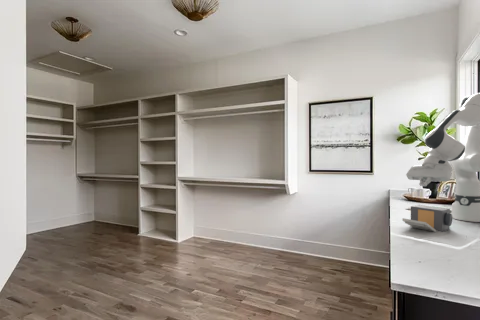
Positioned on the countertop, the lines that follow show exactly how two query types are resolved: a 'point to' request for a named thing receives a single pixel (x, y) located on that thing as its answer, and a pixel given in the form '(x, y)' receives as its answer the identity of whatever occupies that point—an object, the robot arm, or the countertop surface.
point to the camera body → (432, 216)
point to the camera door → (419, 225)
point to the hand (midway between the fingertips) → (422, 185)
